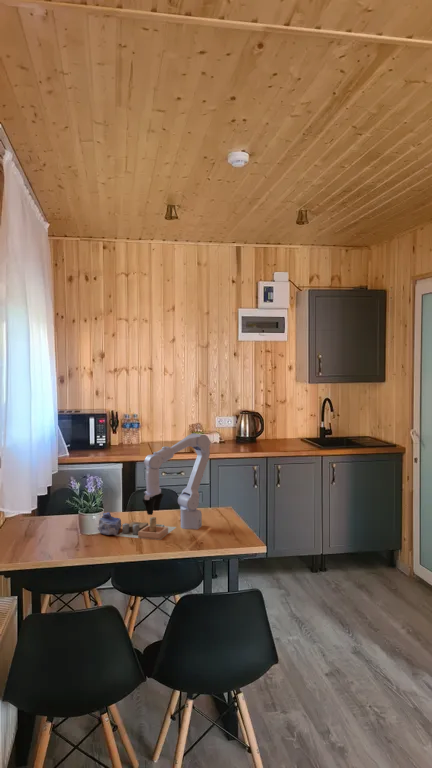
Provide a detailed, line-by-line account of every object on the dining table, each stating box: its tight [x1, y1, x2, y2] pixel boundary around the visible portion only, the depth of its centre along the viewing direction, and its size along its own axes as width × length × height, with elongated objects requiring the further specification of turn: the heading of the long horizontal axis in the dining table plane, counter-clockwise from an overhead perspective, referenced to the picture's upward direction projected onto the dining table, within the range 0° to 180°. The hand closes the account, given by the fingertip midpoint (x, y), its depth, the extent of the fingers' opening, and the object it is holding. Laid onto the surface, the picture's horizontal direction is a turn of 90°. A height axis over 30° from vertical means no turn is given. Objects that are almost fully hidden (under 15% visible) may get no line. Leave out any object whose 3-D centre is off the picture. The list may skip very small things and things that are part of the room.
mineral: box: [97, 511, 122, 536], centre depth 251 cm, size 14×10×10 cm
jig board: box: [115, 522, 177, 541], centre depth 252 cm, size 21×20×5 cm
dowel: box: [149, 516, 157, 532], centre depth 246 cm, size 3×3×7 cm
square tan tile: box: [128, 521, 149, 533], centre depth 254 cm, size 8×8×2 cm
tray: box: [137, 526, 168, 540], centre depth 246 cm, size 10×10×2 cm
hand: (153, 512), depth 249 cm, fingers open, 7 cm apart
